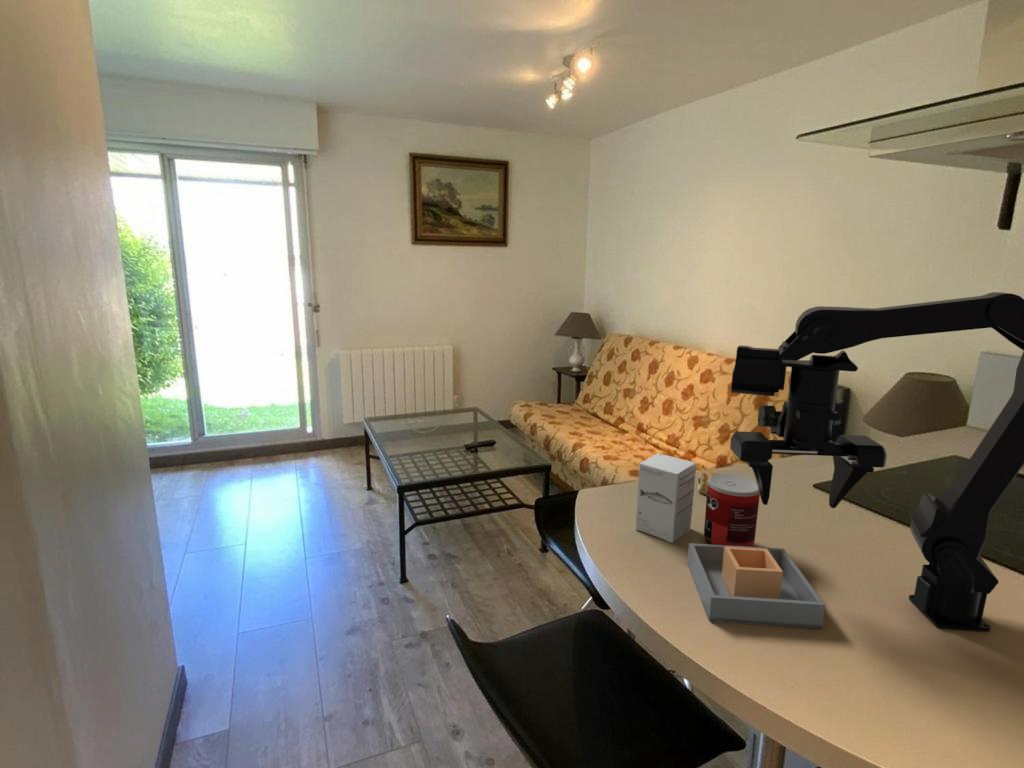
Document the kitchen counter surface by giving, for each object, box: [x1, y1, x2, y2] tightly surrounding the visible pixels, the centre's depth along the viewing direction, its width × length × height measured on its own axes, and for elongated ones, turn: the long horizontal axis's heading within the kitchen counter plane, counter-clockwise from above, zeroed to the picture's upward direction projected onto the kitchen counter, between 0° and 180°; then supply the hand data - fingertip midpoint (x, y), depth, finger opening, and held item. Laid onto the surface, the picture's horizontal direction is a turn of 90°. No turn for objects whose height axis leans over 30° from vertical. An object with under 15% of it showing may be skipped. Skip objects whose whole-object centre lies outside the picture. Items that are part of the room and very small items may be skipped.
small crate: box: [721, 547, 783, 599], centre depth 76 cm, size 6×6×5 cm
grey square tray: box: [687, 543, 826, 630], centre depth 76 cm, size 14×14×4 cm
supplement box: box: [634, 452, 698, 544], centre depth 94 cm, size 7×7×13 cm
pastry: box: [697, 471, 720, 496], centre depth 111 cm, size 9×7×4 cm
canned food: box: [703, 473, 761, 547], centre depth 89 cm, size 8×8×11 cm
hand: (797, 505), depth 77 cm, fingers open, 9 cm apart
